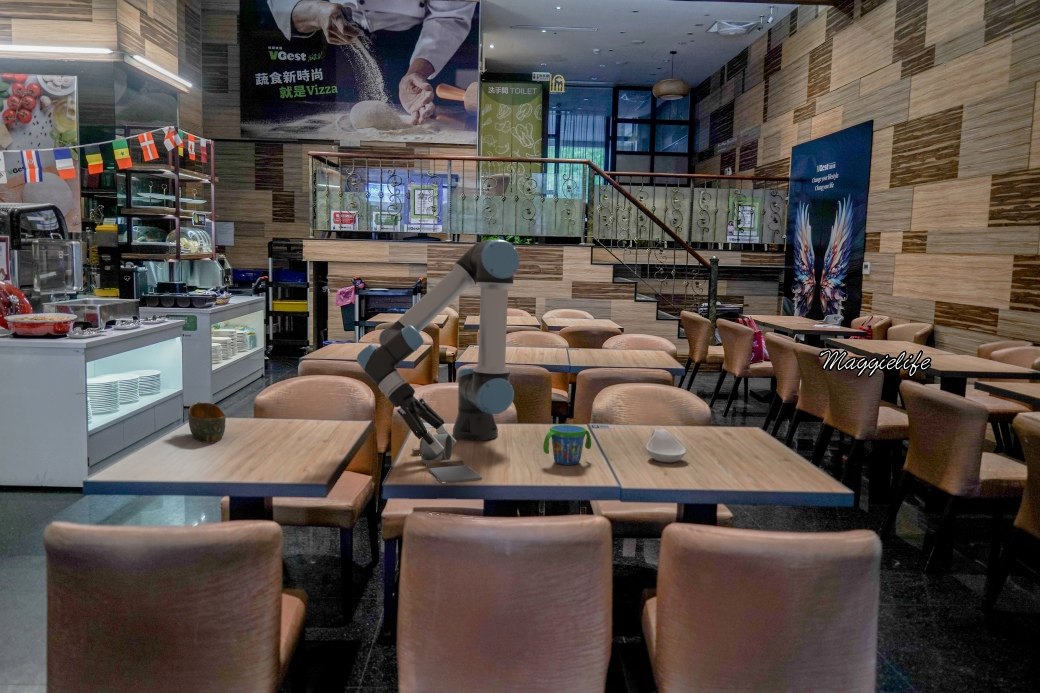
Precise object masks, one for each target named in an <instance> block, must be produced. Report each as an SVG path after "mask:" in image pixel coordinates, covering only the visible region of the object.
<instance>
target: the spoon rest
mask: <svg viewBox="0 0 1040 693" xmlns="http://www.w3.org/2000/svg"><path fill="white" fill-rule="evenodd" d="M645 449H646V450H645V451H646V452H647V454H648V455H649V456H650V457H651V458H652V459H653V460H654V461H657V462H660V463H670V464H671V463H675V462H678V461H680V460H682V459H683V458H684V457H685V455H686V454H687V449H686V448H685V446H684V445H683V444H682V443H680V442H679V441H678V440H677V439H676V438H675V437H674V436H673V435H672V434H671V433H670V432H669V431H668V430H667V429H665V428H662V429H657V428H654V429H653V431H652V433H651V435H650V438H649V440H648V442H647V443H646V446H645Z"/></svg>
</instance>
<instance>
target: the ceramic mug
mask: <svg viewBox="0 0 1040 693" xmlns="http://www.w3.org/2000/svg"><path fill="white" fill-rule="evenodd" d="M432 435H433V436H434V437H435V438H436V439H437V440H438V442H439V443H440V444H441V445H442V446H443V447H444V449H443V450H442V451H441V452H440V453H439V454H438V455H437V454H436V453H435V452H434V451H433V450H432V449H431V447H430V446H429V445H428V444H427V443H426V441H425V440H424V439H423V438H421V439H420V441H419V448H420V455H419V456H420V458H421V462H422V464H424V465H426V464H427V462H428V461H440V460H451V458H452V457H451V456H452V453H453V445H452V439H451V436H450V435H449V434H438V433H436V434H435V433H434V434H433V433H432Z"/></svg>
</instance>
